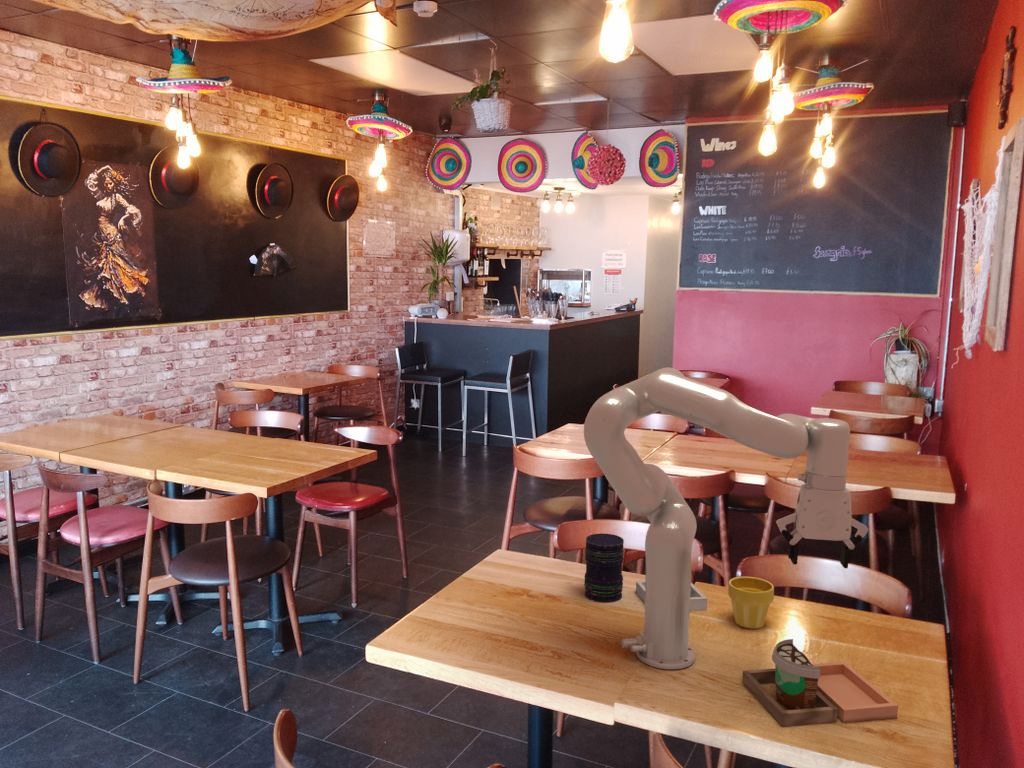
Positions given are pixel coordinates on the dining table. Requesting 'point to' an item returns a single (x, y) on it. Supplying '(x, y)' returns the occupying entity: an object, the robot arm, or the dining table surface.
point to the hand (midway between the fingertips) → (818, 564)
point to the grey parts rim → (696, 600)
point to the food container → (794, 677)
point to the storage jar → (604, 568)
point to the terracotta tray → (853, 694)
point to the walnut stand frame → (785, 718)
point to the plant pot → (750, 600)
